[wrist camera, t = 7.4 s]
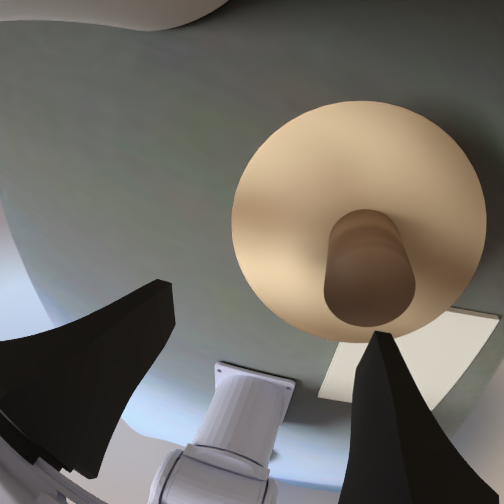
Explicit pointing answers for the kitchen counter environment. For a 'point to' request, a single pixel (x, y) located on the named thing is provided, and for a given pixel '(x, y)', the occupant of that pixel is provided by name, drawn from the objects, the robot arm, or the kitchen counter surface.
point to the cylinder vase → (112, 12)
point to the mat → (420, 355)
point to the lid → (359, 221)
